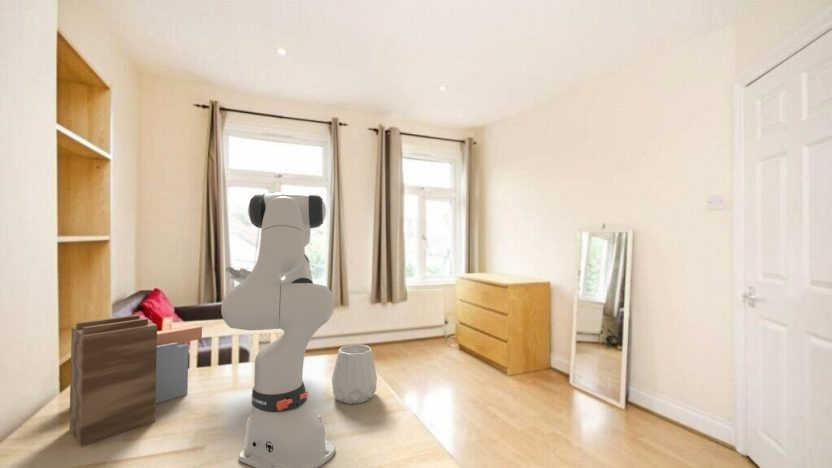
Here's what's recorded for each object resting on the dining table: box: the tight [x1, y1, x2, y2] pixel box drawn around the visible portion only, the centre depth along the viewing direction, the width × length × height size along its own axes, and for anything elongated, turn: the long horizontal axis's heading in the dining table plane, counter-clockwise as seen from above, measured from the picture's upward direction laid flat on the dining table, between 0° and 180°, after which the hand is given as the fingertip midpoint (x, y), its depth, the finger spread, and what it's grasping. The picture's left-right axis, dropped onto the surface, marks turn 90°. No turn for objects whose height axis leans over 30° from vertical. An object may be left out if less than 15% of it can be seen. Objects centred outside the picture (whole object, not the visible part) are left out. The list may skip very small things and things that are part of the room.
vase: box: [331, 343, 378, 405], centre depth 117 cm, size 14×14×15 cm
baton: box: [157, 324, 203, 346], centre depth 116 cm, size 4×22×4 cm, turn 142°
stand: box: [68, 314, 158, 447], centre depth 97 cm, size 12×15×28 cm
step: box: [155, 342, 190, 405], centre depth 116 cm, size 12×11×17 cm
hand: (233, 269), depth 127 cm, fingers open, 8 cm apart
